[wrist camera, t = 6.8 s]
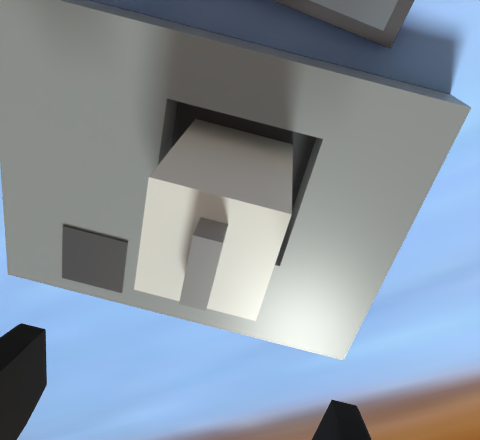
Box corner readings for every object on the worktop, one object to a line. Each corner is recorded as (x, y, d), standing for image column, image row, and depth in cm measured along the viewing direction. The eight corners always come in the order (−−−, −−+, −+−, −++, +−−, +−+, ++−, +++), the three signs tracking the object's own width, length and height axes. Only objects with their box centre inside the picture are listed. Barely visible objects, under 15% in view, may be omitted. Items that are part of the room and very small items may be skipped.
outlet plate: (339, 329, 21) (343, 361, 19) (31, 250, 21) (6, 275, 19) (450, 94, 15) (472, 108, 13) (23, -17, 15) (-14, -19, 13)
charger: (267, 228, 18) (253, 344, 12) (180, 205, 18) (122, 310, 12) (292, 144, 16) (291, 232, 10) (195, 118, 16) (136, 192, 10)
